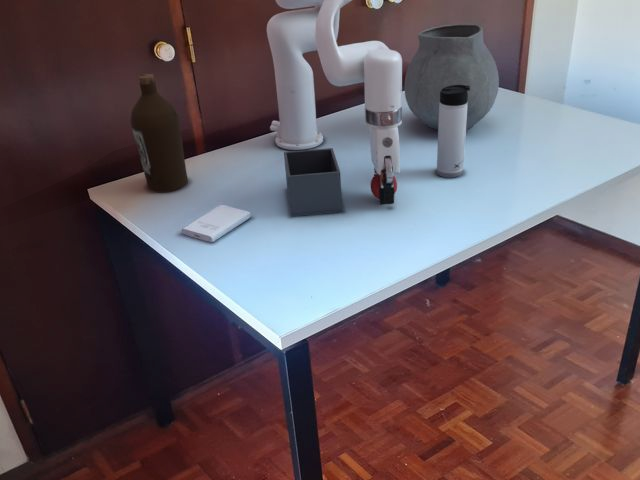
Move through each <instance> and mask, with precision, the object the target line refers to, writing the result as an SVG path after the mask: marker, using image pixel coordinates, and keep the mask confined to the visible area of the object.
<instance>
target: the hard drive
mask: <svg viewBox="0 0 640 480" xmlns="http://www.w3.org/2000/svg"><path fill="white" fill-rule="evenodd" d="M249 219H251V212H249V211H247V210H243V209H241V208H236V207H232V206H229V205H224V204H219V205H217V207H215V208H213V209H211V210H210V211H208V212H207V213H205V214H204V215H202V216H200V217H198V218H197V219H195V220H194V221H192V222H190V223H189V224H187V225H186V226H184V227H183V228H181V231H182V234H183V235H184V236H188V237H191V238H193V239H197V240H201V241H204V242H207V243H214V242H215V241H217V240H218V239H220V238H221V237H223V236H224V235H226V234H228V233H229V232H231V231H232V230H234V229H236V228H237V227H239V226H240V225H242V224H244V223H245V222H246V221H248V220H249Z"/></svg>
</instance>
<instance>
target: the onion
mask: <svg viewBox="0 0 640 480" xmlns="http://www.w3.org/2000/svg"><path fill="white" fill-rule="evenodd" d="M382 173H386V172H385V170H382ZM374 174H375V173H374ZM374 174H373V176H372V178H371V181H370V191H371V194H372V195H373V196H374V197H375V198H376V199H377V200H379V187H380V175H379V174H378V173H376V174H375V175H374ZM384 179H386V176H383V180H384ZM393 180H394V195H396V192H397V190H398V182H397V178H396V177H395V175H394V174H393Z"/></svg>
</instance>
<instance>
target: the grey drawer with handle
mask: <svg viewBox="0 0 640 480" xmlns="http://www.w3.org/2000/svg"><path fill="white" fill-rule="evenodd" d="M283 157H284V158H283V159H284V170H285V179H286V180H285V181H286V191H287V198H288V204H289V210H290V217H299V216H311V215H323V214H334V213H341V212H343V201H342V200H343V199H342V183H341V182H342V180H341V170H340V167H339V164H338V160H337V157H336V154H335V151H334V148H333V147H328V148H315V149H314V148H313V149H304V150H291V151H283Z"/></svg>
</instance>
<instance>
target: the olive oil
mask: <svg viewBox="0 0 640 480" xmlns="http://www.w3.org/2000/svg"><path fill="white" fill-rule="evenodd" d="M138 80H139V83H138V84H139V87H140V93H141V94H140V97H138V100H137V101H136V102H135V104H134V105H133V107H132V109H131V112H130V126H131V130H132V134H133V138H134V140H135V145H136V147H137V152H138V155H139V158H140V162H141V165H142V169H143V170H142V171H143V173H144V177H145V181H146V185H147V188H148V189H149V190H150V191H152V192H155V193H169V192H174V191H178V190H180V189H183V188H184V187H186V186H187V185H188V184H189V183H188V182H189V179H188V174H187V173H188V172H187V166H186V160H185V152H184V145H183V139H182V129H181V122H180V116H179V114H178V111H177V109H176V108H175V106H174V105H173V103H171V102H170V101H169V100H167V99H166V98H165V97H164V96H162V95H161V94H160V93H159V92H158V90H157V83H156V81H155V76H154V74H153V73H142V74H139V76H138Z"/></svg>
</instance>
